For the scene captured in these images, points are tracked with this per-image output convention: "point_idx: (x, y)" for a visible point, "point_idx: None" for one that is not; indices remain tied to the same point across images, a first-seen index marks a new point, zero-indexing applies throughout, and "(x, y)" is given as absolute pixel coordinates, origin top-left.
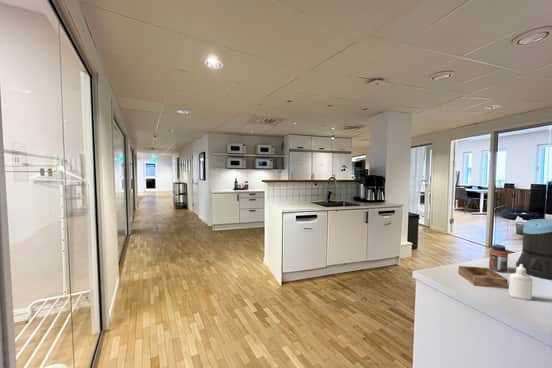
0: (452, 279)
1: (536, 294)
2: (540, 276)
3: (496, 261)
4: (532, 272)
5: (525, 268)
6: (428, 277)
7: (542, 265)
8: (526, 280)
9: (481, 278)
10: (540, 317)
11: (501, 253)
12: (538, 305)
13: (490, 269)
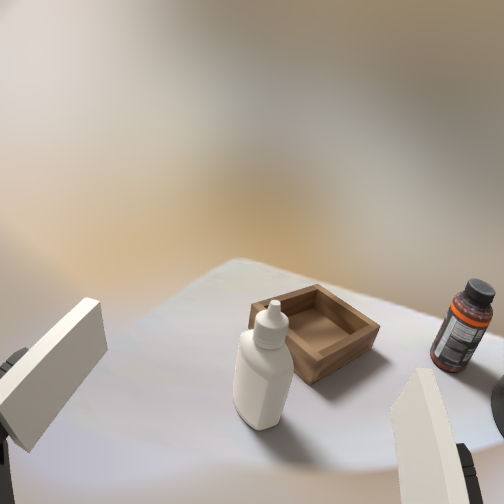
0: (251, 297)
1: (334, 444)
2: (500, 424)
3: (443, 330)
4: (498, 405)
5: (500, 387)
6: (220, 269)
7: None
8: (250, 366)
9: None
10: (116, 427)
11: (463, 309)
12: (221, 444)
13: (370, 330)
